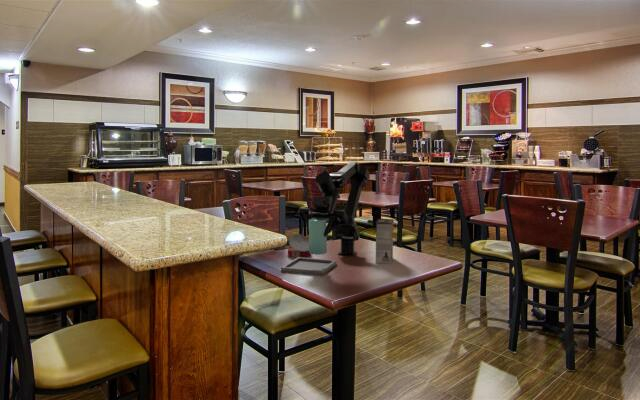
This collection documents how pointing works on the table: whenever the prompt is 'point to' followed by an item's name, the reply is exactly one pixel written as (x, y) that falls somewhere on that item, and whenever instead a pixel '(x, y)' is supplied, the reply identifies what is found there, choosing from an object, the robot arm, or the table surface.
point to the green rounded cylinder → (317, 236)
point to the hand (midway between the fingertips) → (316, 235)
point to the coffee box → (384, 241)
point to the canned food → (298, 246)
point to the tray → (309, 266)
